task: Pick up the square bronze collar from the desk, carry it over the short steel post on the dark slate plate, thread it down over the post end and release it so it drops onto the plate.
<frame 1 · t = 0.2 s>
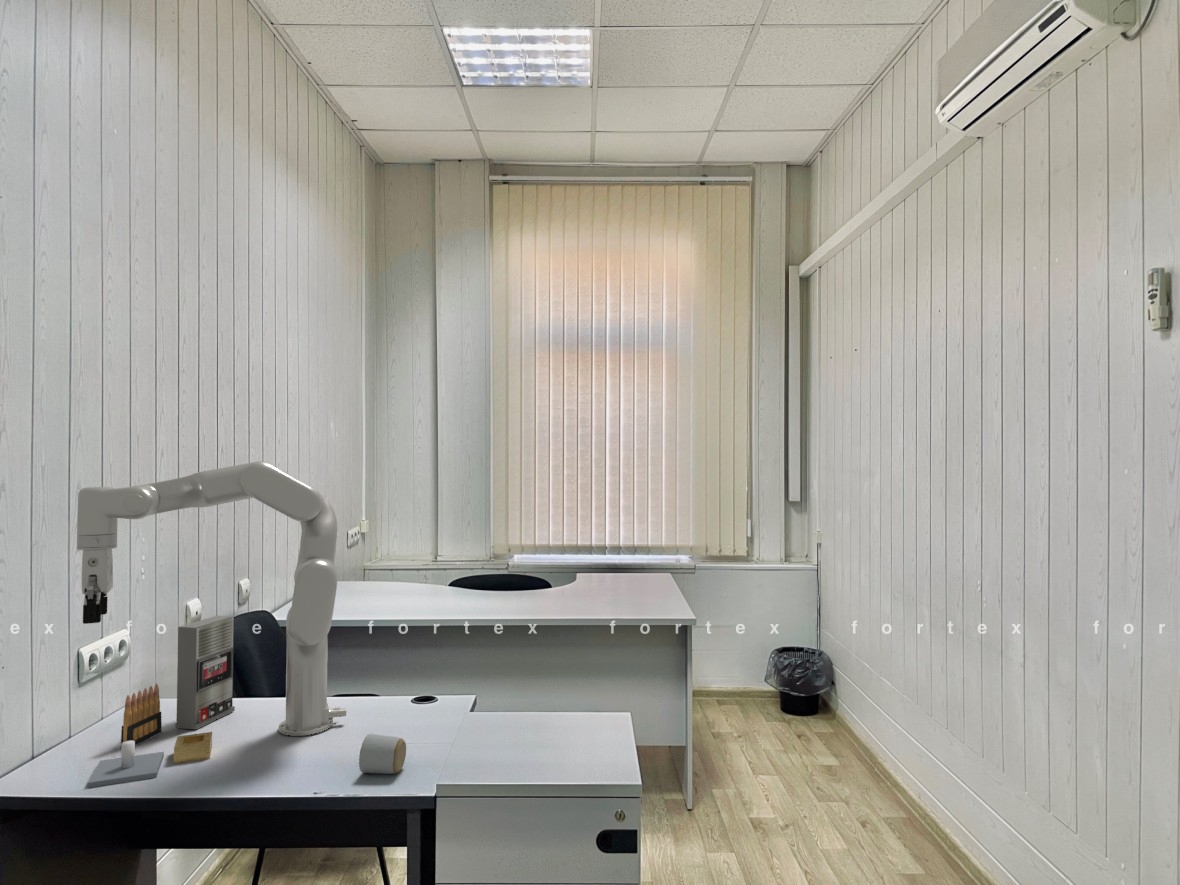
hand: (95, 618, 163), 31 cm above the table, tool pointing down, fingers open, 9 cm apart
cassette tape recorder: (206, 720, 185), on the table
ammunition clip: (141, 741, 172), on the table
post plate: (127, 771, 154), on the table
collar: (193, 755, 163), on the table
grey tan-ended cylinder: (384, 770, 156), on the table
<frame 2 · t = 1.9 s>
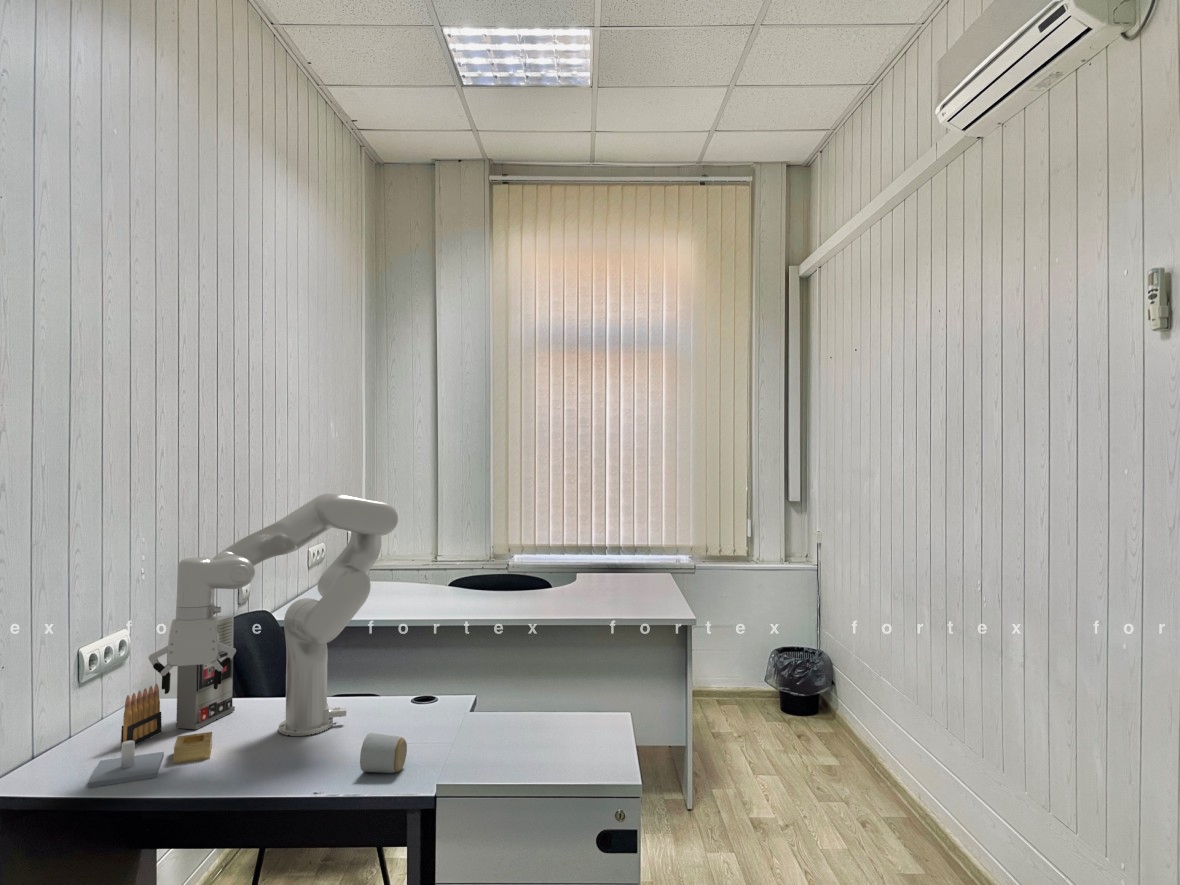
hand: (191, 689, 163), 15 cm above the table, tool pointing down, fingers open, 9 cm apart
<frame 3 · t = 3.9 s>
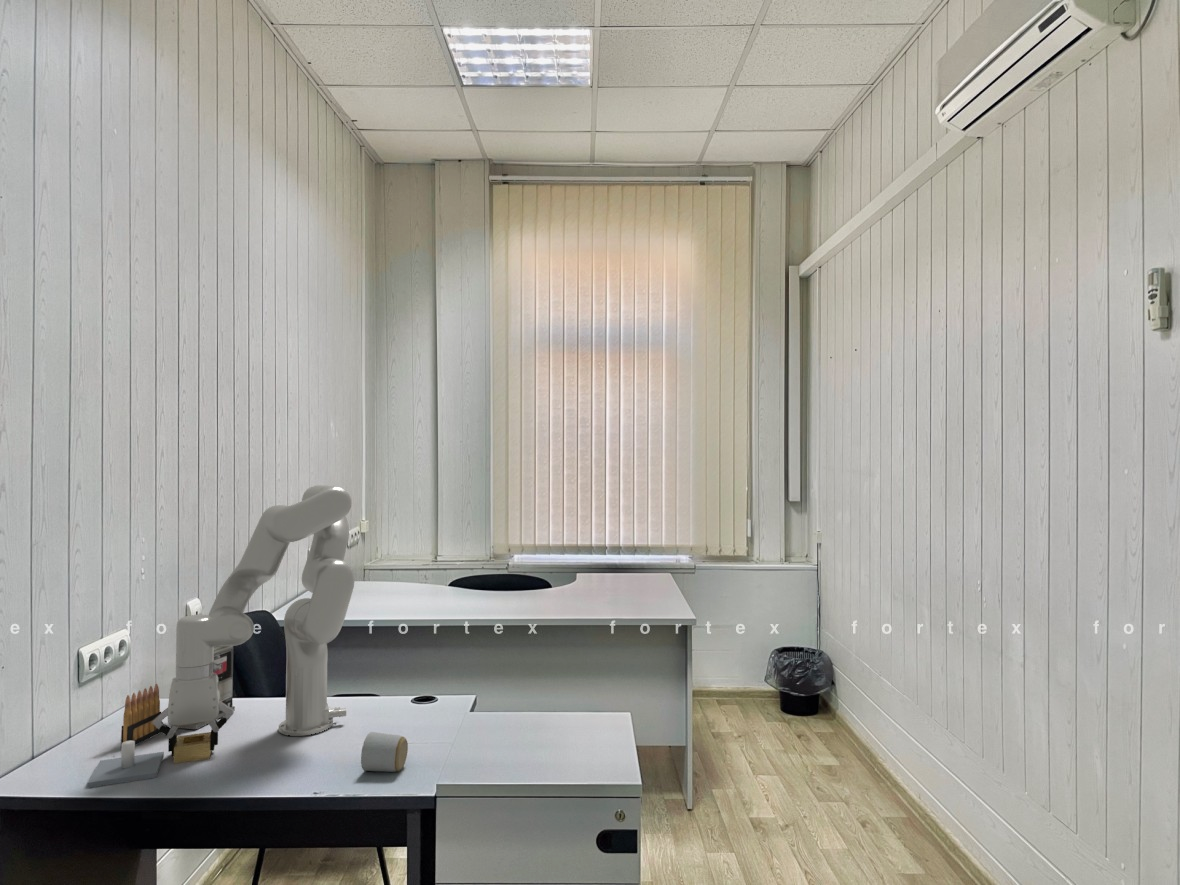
hand: (193, 750, 163), 1 cm above the table, tool pointing down, fingers closed on collar, 7 cm apart
collar: (193, 755, 163), on the table, touching gripper
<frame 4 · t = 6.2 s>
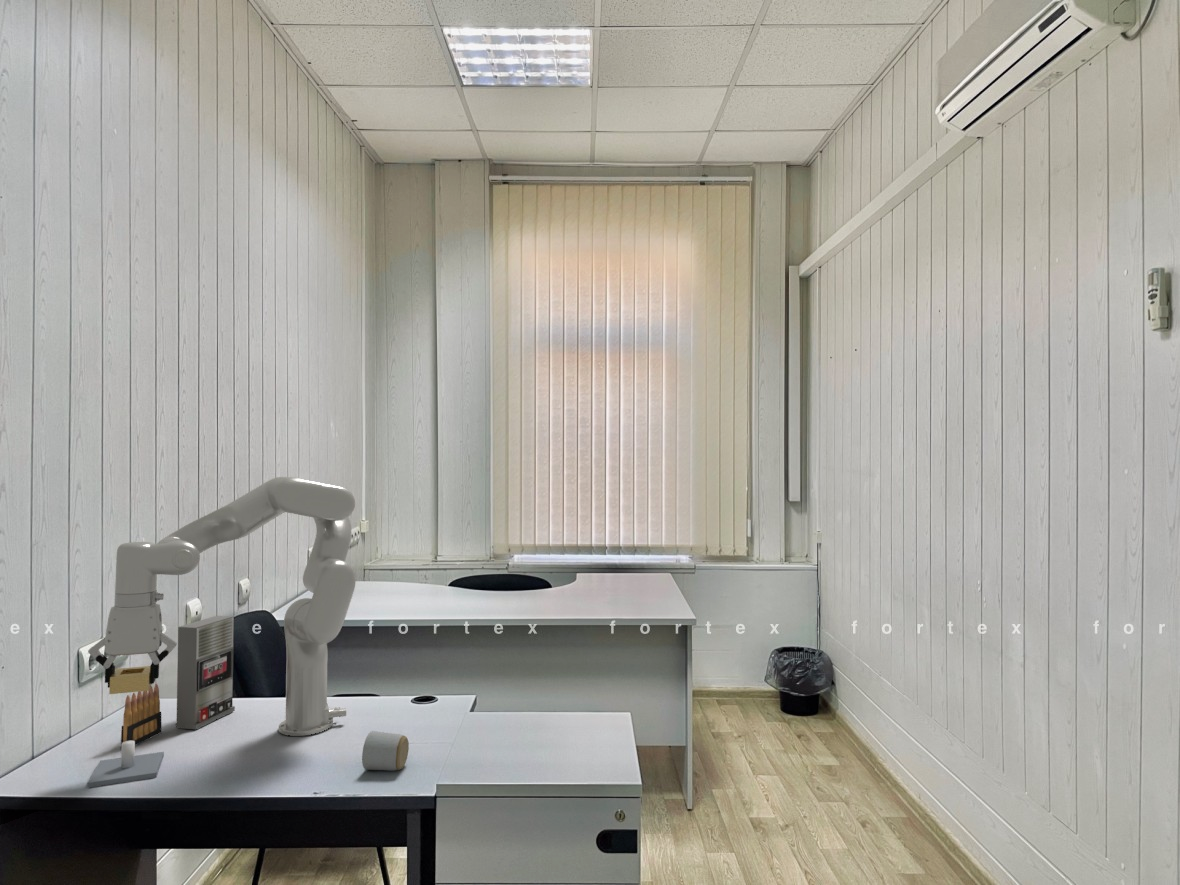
hand: (131, 683, 155), 18 cm above the table, tool pointing down, fingers closed on collar, 7 cm apart
collar: (131, 687, 155), point 17 cm above the table, touching gripper
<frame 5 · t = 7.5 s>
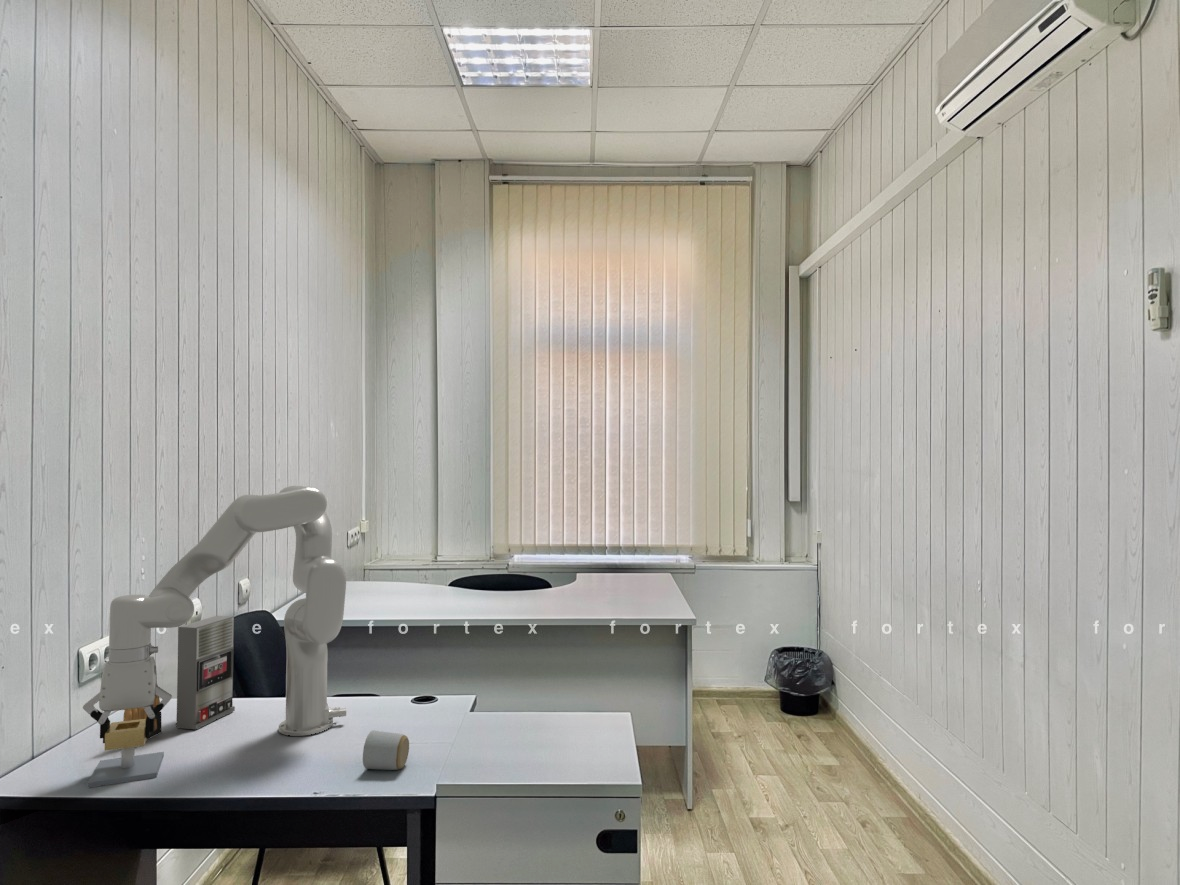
hand: (127, 737, 154), 7 cm above the table, tool pointing down, fingers closed on collar, 7 cm apart
collar: (127, 742, 154), point 6 cm above the table, touching gripper
when the fingers open (5 cm above the table, at t = 8.7 s): collar drops 3 cm, resting on post plate.
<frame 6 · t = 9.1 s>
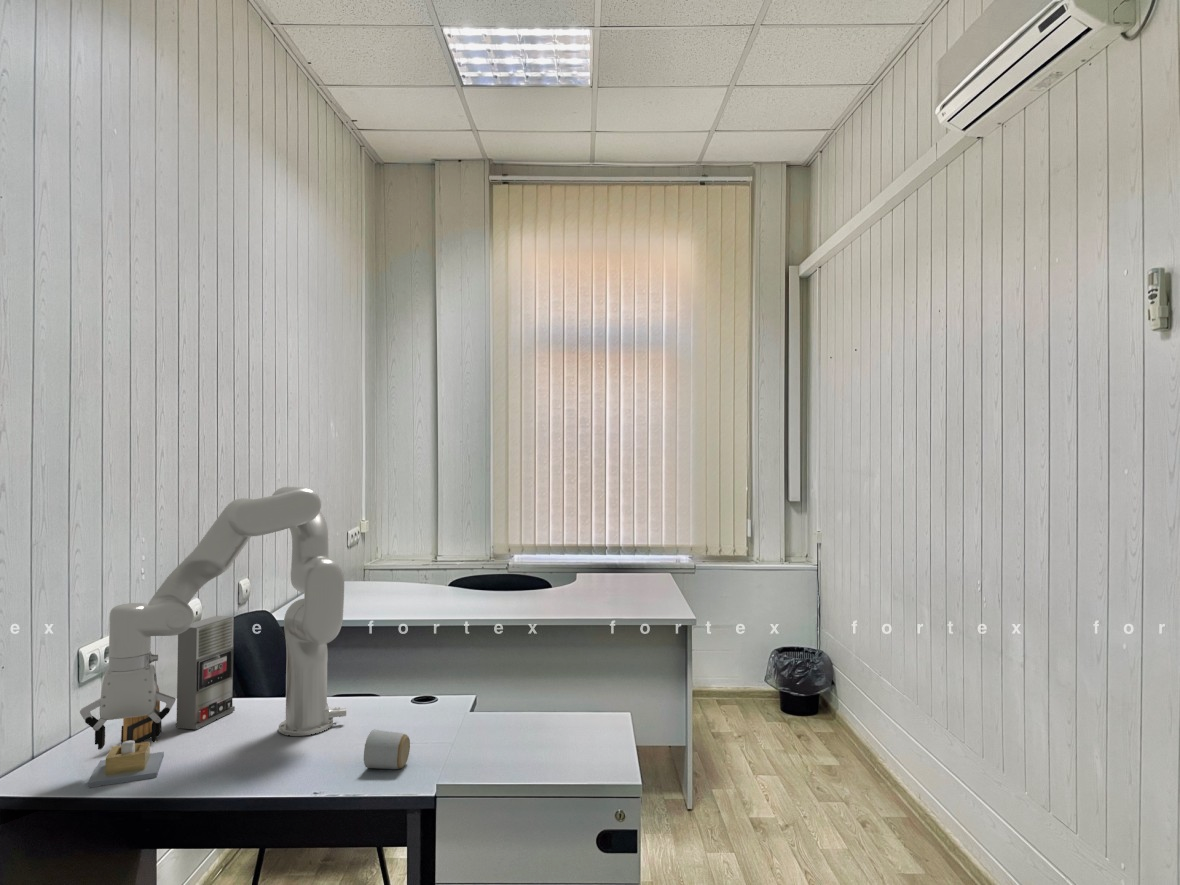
hand: (128, 743, 155), 6 cm above the table, tool pointing down, fingers open, 9 cm apart
collar: (128, 766, 154), point 1 cm above the table, touching post plate
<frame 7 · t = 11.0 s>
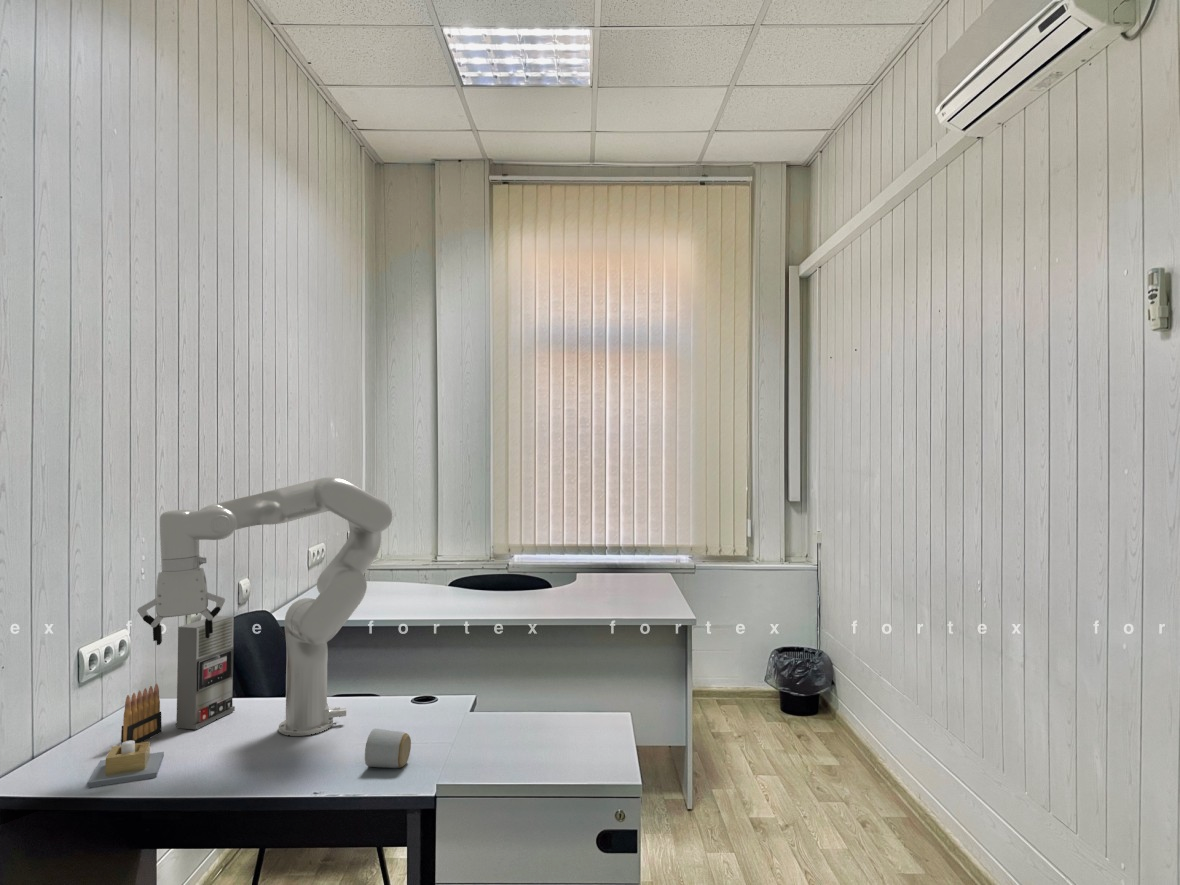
hand: (183, 640, 164), 25 cm above the table, tool pointing down, fingers open, 9 cm apart
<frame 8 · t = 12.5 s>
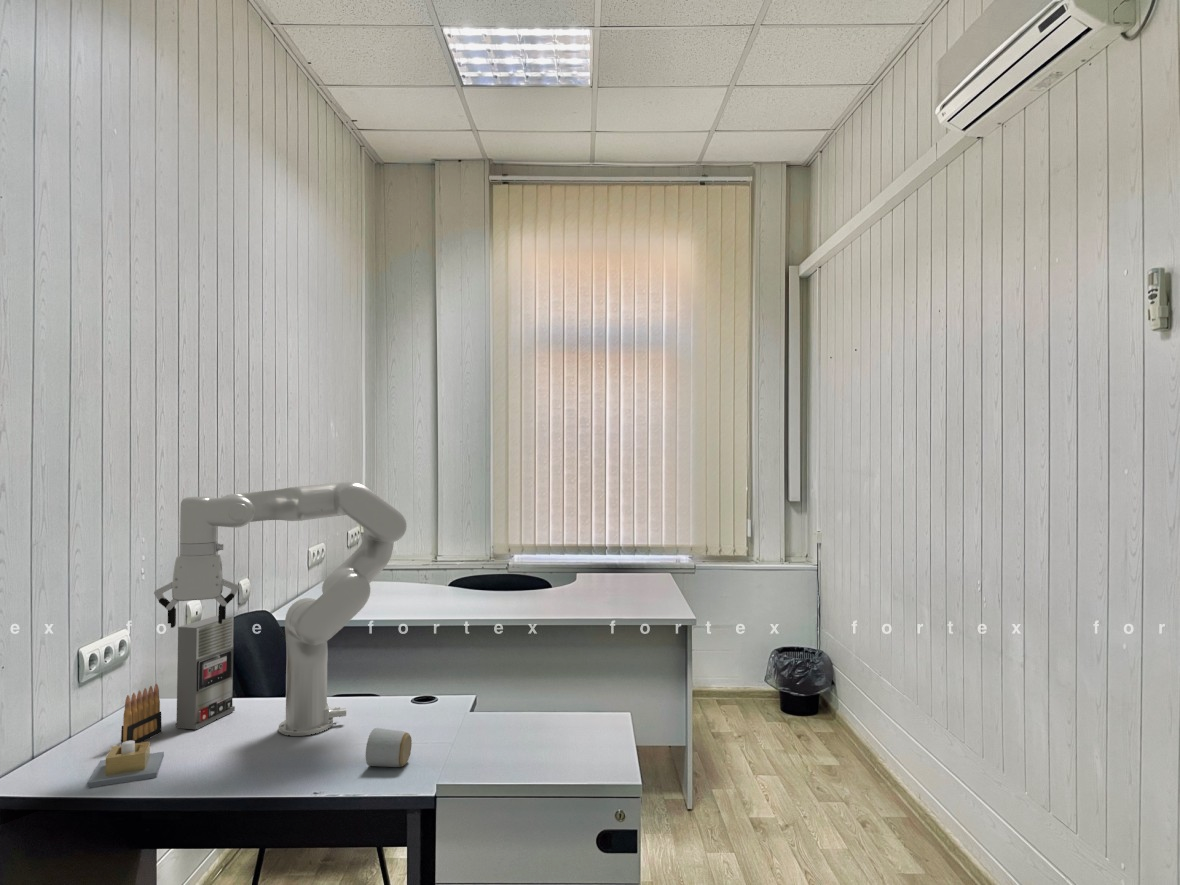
hand: (197, 624, 167), 28 cm above the table, tool pointing down, fingers open, 9 cm apart
at the end: collar 0.1 cm off-centre on the post plate, point 1.0 cm above the post plate's base; the gripper is holding nothing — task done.
